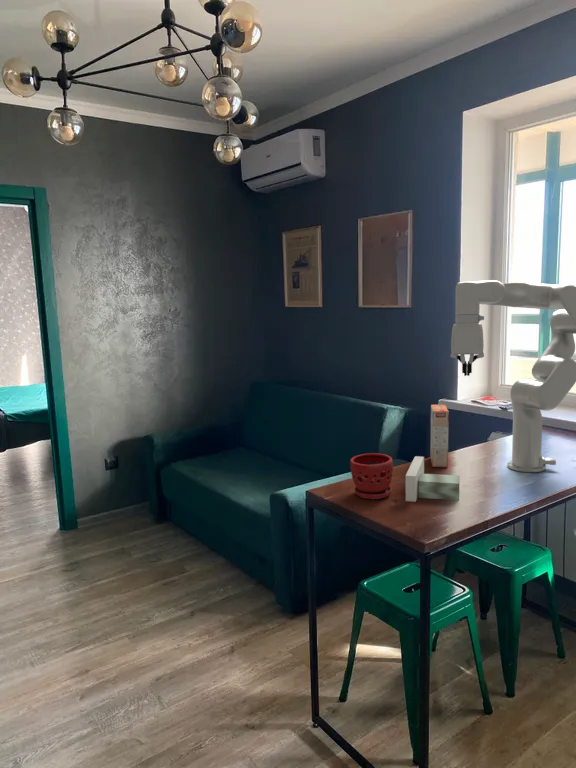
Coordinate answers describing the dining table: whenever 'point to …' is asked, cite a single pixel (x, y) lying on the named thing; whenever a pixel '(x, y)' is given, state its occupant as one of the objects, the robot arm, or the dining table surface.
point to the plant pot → (372, 475)
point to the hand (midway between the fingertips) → (466, 375)
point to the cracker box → (439, 435)
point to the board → (414, 478)
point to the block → (439, 486)
